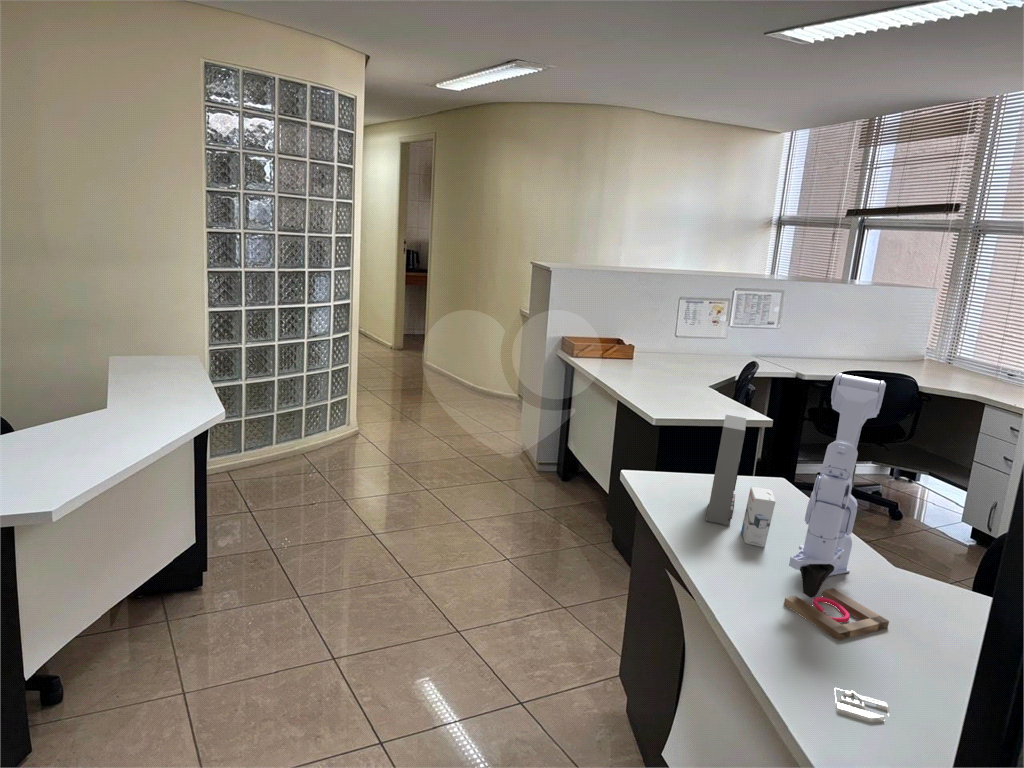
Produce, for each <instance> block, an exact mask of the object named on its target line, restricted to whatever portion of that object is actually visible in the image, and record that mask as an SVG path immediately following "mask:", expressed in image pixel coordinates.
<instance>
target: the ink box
mask: <svg viewBox="0 0 1024 768" xmlns="http://www.w3.org/2000/svg"><path fill="white" fill-rule="evenodd" d="M775 507H776V498H775V496H774V494H773V491H772V489H768V488H764V487H763V488H762V487H756V486H750V489H749V494H748V498H747V504H746V508H745V512H744V516H743V520H742V524H741V533H742V537H743V541H744V544H748V545H752V546H757V547H762V548H766V543H767V540H768V535H769V533H770V532H769V530H770V526H771V522H772V519H773V518H772V517H773V514H774V511H775Z"/></svg>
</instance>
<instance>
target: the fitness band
mask: <svg viewBox="0 0 1024 768" xmlns="http://www.w3.org/2000/svg"><path fill="white" fill-rule="evenodd" d="M822 602H827V603H830V604H832V605H834V606H836V607H837V608H838V609H839V610H840V612H841V613H842V614H843V615H844V616H843V615H842V614H841V613H840V612H839V613H840V614H841V615H842V617H833V616H829V615H828V616H829V617H830V618H832V619H833V620H835V621H837V622H846V623H848V622H849V621H848V620H850V617H851V616H850V615H851V614H849V613H848V612H847V611H846V610H845V608H843V607H842V606H841V605H840V604H839V603H837V602H836V601H834V600H831V599H828V598H825V597H822V596H815V597H813V598H812V603H811V606H812V605H813V607H815V608H816V609H818V610H819V611H821V612H822V613H824V614H826V615H827V611H826V610H825V608H823V606H822V605H820V604H819V603H822ZM827 603H826V604H827ZM830 604H829V605H830ZM832 605H831V606H832ZM834 606H833V607H834ZM847 621H848V622H847Z"/></svg>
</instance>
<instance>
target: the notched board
mask: <svg viewBox="0 0 1024 768" xmlns="http://www.w3.org/2000/svg"><path fill="white" fill-rule="evenodd" d="M822 596H823V597H825V598H828V599H831V600H834V601H836V602H837V603H839V604H840V605H841V606H842V607H843V608H845V610H846V611H847V612H848V613H850V614H849V615H851V616H853V617H854V616H855V617H854V618H855V619H857V620H856V621H854V622H853V621H852V622H849V623H848V622H847V623H842V624H841V623H838V622H837V621H835V620H833V619H832V618H830V617H831V616H830V617H829V615H827V613H826V614H824V613H822V612H821V611H819V610H818V609H816V608H815V607H813V606H812V604H810V603H808V602H806V600H803V599H802V598H801V597H799V596H797V595H791V596H788V597H784V601H783V605H784V604H785V605H786V606H785V605H784V606H785V607H787V606H788V607H789V608H788V607H787V608H788V609H790V608H791V609H792V610H791V609H790V610H791V611H793V610H794V611H795V612H794V611H793V612H794V613H796V612H797V613H798V614H797V613H796V614H797V615H799V614H800V615H801V617H802V616H803V617H804V618H803V617H802V618H803V619H805V618H806V619H807V620H806V619H805V620H806V621H808V622H809V621H810V622H809V623H811V624H812V623H813V624H812V625H814V626H815V625H816V626H815V627H817V628H818V629H820V630H821V631H823V632H824V633H826V634H828V635H830V637H832V638H834V639H835V640H836V641H842V640H845V639H846V640H847V639H850V638H851V639H852V638H855V637H858V636H862V635H866V634H871V633H873V632H877V631H881V630H885V629H888V627H889V624H890V620H888V619H886V617H883V616H881V615H880V614H878V613H876V612H875V611H873V610H872V609H870V608H868V607H866V606H864V605H863V604H862V603H860V602H858V601H856V600H854V599H853V598H851V597H849V596H847V595H846V594H844V593H842V592H840V591H839V590H837V588H834V587H832V588H827V589H826V588H825V589H823V590H822V594H821V597H822ZM800 615H799V616H800Z"/></svg>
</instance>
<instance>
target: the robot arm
mask: <svg viewBox="0 0 1024 768" xmlns="http://www.w3.org/2000/svg"><path fill="white" fill-rule="evenodd" d="M886 386H887V383H886V382H885V380H878V379H872V378H866V377H862V376H857V375H855V376H854V375H850V374H844V373H842V372H839V373H837V374H836V375H835V377H834V382H833V385H832V389H831V396H830V399H831V402H830V404H831V408H832V410H834V411H836V412H837V413H839V421H838V426H837V433H836V437H835V440H834V441H833V442H831V443H829V444H828V445H827V448H826V450H825V455H824V459H823V462H822V466H821V470H820V473H819V474H817V476H816V478H815V481H814V485H813V490H812V492H811V494H810V498H809V500H808V503H807V506H806V510H805V516H804V522H805V524H806V525H808V526H807V530H806V536H805V541H804V544H801V545H800V544H799V546H798V550H799V551H797V553H796V554H795V555H792V556H790V557H789V558H790V559H789V563H788V566H789V567H791V568H793V569H794V570H797V571H800V575H801V583H802V594H804V595H806V596H807V597H809V598H810V599H811V598H812V599H814V598H815V597H817V595H818V593H819V591H820V589H821V587H822V585H823V584H824V582H825V580H826V579H828V577H829V576H835V575H840V574H846V573H850V571H851V569H850V568H848V565H849V561H850V555H851V552H852V548H853V547H852V546H853V540H852V537H851V534H853V528H854V525H855V520H856V516H857V512H858V510H857V509H858V504H859V503H858V500H857V499H856V498H855V496H853V495H852V489H853V478H854V472H855V471H854V470H855V468H856V464H857V463H856V462H857V459H858V456H859V452H858V444H859V441H860V436H861V431H862V427H863V426H864V424H865V423H866V422H867V420H868V419H872V418H877V417H878V415H879V414H880V410H881V407H882V403H883V399H884V396H885V391H886Z"/></svg>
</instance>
